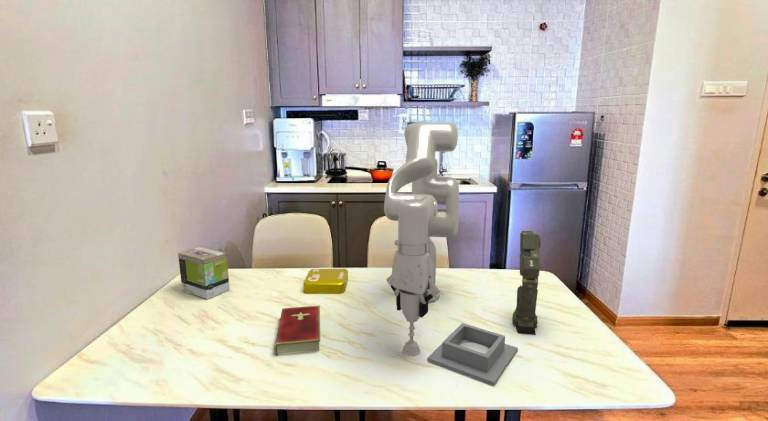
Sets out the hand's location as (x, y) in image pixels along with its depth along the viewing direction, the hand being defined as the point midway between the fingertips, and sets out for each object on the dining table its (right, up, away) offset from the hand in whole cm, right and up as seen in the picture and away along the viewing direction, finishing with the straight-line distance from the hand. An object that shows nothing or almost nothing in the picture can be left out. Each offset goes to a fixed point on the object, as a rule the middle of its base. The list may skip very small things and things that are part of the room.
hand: (411, 311), depth 111 cm
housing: (+16, -12, 0) cm, 20 cm away
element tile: (-29, -2, +46) cm, 54 cm away
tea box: (-73, -3, +42) cm, 84 cm away
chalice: (0, -12, +3) cm, 12 cm away
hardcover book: (-32, -10, +12) cm, 36 cm away
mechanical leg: (+35, -8, +17) cm, 40 cm away
